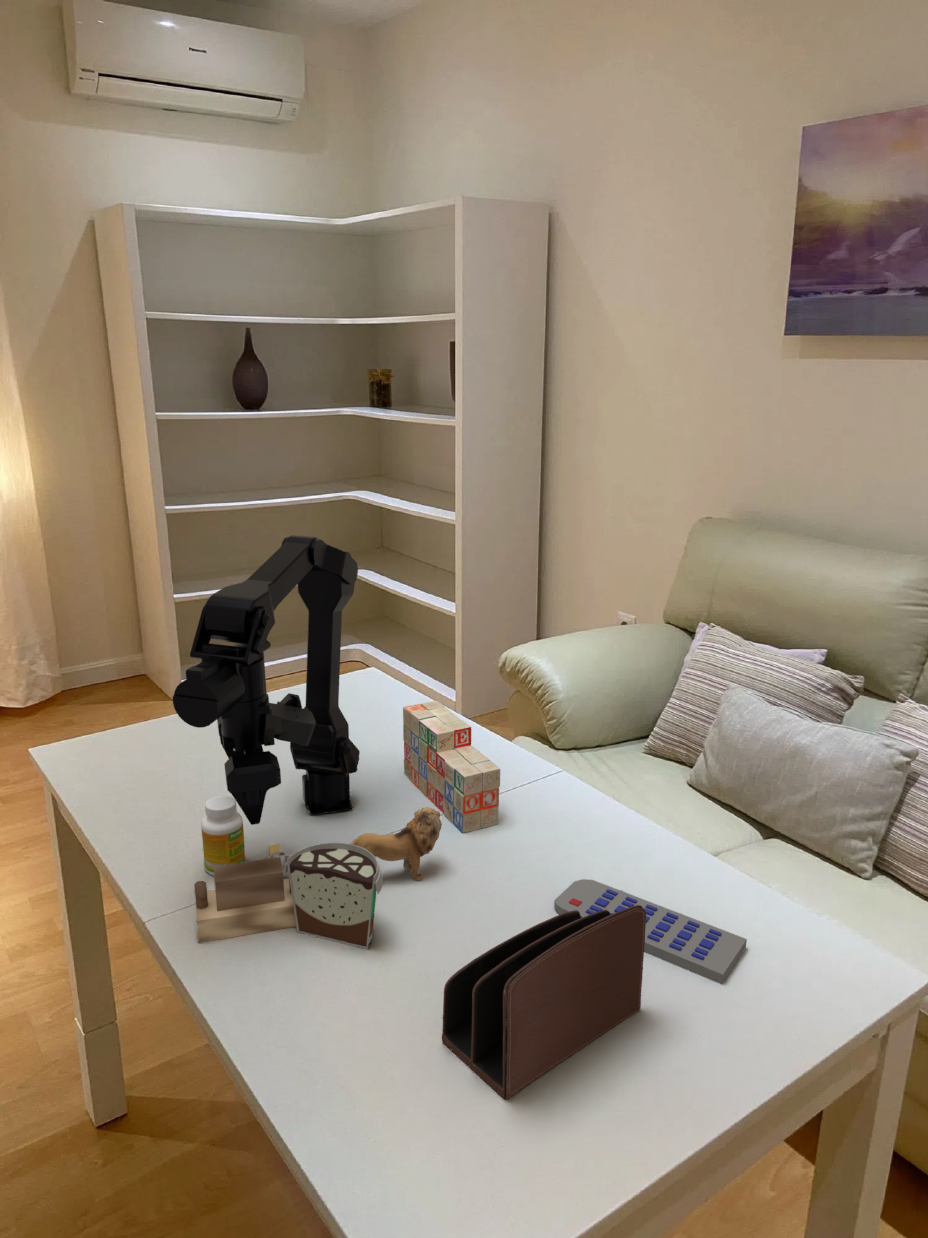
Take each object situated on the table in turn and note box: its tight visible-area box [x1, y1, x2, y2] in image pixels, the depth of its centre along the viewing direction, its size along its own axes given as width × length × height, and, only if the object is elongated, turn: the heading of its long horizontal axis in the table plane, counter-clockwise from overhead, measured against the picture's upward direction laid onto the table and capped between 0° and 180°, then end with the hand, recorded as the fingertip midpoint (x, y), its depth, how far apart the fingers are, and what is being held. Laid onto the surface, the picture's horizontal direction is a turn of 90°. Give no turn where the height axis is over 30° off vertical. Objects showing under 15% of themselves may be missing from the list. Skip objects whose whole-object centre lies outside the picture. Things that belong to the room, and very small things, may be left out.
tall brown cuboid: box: [214, 857, 285, 911], centre depth 112 cm, size 4×8×4 cm, turn 107°
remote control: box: [553, 878, 748, 985], centre depth 112 cm, size 8×23×2 cm, turn 54°
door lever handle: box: [267, 843, 290, 879], centre depth 122 cm, size 5×8×4 cm, turn 17°
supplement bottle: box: [201, 795, 246, 876], centre depth 123 cm, size 5×5×10 cm
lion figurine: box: [351, 806, 443, 882], centre depth 121 cm, size 15×5×9 cm, turn 114°
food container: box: [284, 842, 384, 950], centre depth 111 cm, size 12×6×10 cm, turn 71°
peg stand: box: [193, 878, 297, 944], centre depth 112 cm, size 13×6×6 cm, turn 107°
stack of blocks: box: [402, 700, 501, 834], centre depth 142 cm, size 21×6×12 cm, turn 27°
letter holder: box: [441, 905, 646, 1100], centre depth 94 cm, size 10×20×14 cm, turn 130°
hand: (251, 805), depth 117 cm, fingers open, 9 cm apart
